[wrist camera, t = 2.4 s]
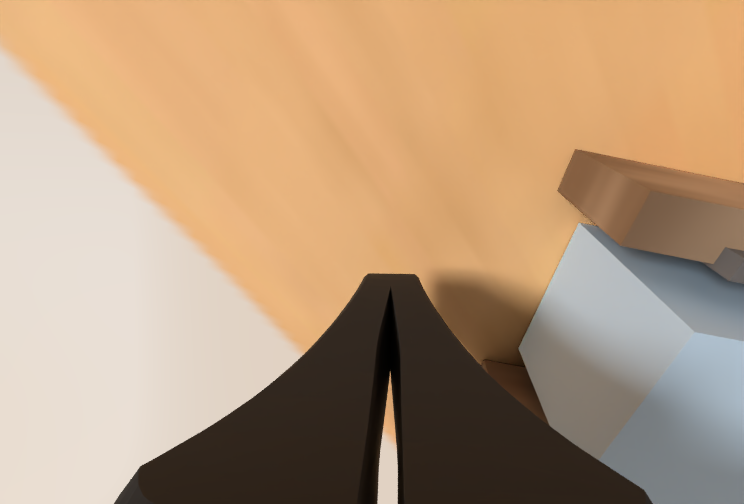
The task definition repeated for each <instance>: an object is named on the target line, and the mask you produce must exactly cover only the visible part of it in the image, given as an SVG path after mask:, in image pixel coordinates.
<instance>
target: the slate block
mask: <svg viewBox="0 0 744 504" xmlns="http://www.w3.org/2000/svg"><path fill="white" fill-rule="evenodd" d="M518 349H519V351H520V354H521V356H522V359H523V361H524V364H525V366H526V369H527V371H528V374H529V376H530V379H531V381H532V383H533V386H534V388H535V391H536V393H537V396H538V398H539V401H540V403H541V406H542V408H543V411H544V413H545V416H546V418H547V420H548V423H549V425H550V427H552V428H553V429H554V430H556V431H557V432H559V433H560V434H561V435H563V436H564V437H565V438H567V439H568V440H569V441H571V442H572V443H574V444H575V445H576V446H578V447H579V448H581V449H582V450H584V451H585V452H587V453H588V454H590V455H591V456H593V457H594V458H596V459H598V460H599V461H601V462H602V463H604V464H605V465H607V466H608V467H610V468H611V469H613V470H614V471H616V472H617V473H619V474H621V475H622V476H624V477H625V478H627V479H628V480H630V481H631V482H633V483H634V484H636V485H637V486H639V487H640V488H642V489H644V491H645V492H646V493H647V495H648V497H649V498H650V500H651V501H652V503H653V504H744V284H742V283H737V282H732V281H728V280H727V279H725V278H724V277H723V276H721V275H720V274H718V273H717V272H715V271H714V270H712V269H711V268H710V267H708V266H707V265H705V264H704V263H702V262H700V261H695V260H690V259H685V258H680V257H675V256H670V255H665V254H659V253H654V252H649V251H644V250H639V249H634V248H629V247H624V246H620V245H619V244H618V243H617V242H616V241H614V240H613V239H612V238H611V237H610V236H609V235H607V234H606V233H605V232H604V231H603V230H602V229H601V228H599V227H598V226H593V225H588V224H583V223H579V224H578V226H577V228H576V230H575V232H574V234H573V236H572V238H571V240H570V242H569V244H568V246H567V248H566V251H565V253H564V255H563V257H562V259H561V261H560V263H559V265H558V267H557V269H556V271H555V273H554V275H553V277H552V280H551V282H550V284H549V286H548V288H547V290H546V292H545V294H544V296H543V298H542V300H541V302H540V304H539V307H538V309H537V311H536V313H535V315H534V317H533V319H532V321H531V323H530V325H529V327H528V329H527V331H526V333H525V336H524V338H523V340H522V342H521V344H520V346H519V348H518Z"/></svg>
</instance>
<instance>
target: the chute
mask: <svg viewBox="0 0 744 504" xmlns="http://www.w3.org/2000/svg"><path fill="white" fill-rule="evenodd" d="M558 192H559V193H561V194H562V195H563V196H564V197H565V198H566V199H567V200H569V201H570V202H571V203H572V204H573V205H574V206H575V207H577V208H578V209H579V210H580V211H581V212H582V213H583V214H585V215H586V216H587V217H588V218H589V219H590V220H591V221H593V222H594V223H595V224H596V225H597V226H598V227H599V228H601V229H602V230H603V231H604V232H605V233H606V234H607V235H609V236H610V237H611V238H612V239H613V240H614V241H616V242H617V243H618V244H619V245H620V246H624V247H629V248H634V249H639V250H644V251H649V252H654V253H659V254H665V255H670V256H675V257H680V258H685V259H690V260H695V261H700V262H702V263H704V264H705V265H707V266H708V267H710V268H711V269H712V270H714V271H715V272H717V273H718V274H720V275H721V276H723V277H724V278H725V279H727V280H728V281H732V282H737V283H742V284H744V184H743V183H739V182H734V181H729V180H724V179H719V178H714V177H709V176H704V175H699V174H694V173H690V172H685V171H680V170H675V169H670V168H665V167H660V166H655V165H650V164H645V163H640V162H636V161H631V160H626V159H621V158H616V157H611V156H606V155H601V154H596V153H591V152H587V151H582V150H577V149H575V151H574V154H573V156H572V158H571V161H570V163H569V165H568V168H567V170H566V172H565V175H564V177H563V179H562V181H561V184H560V186H559V188H558ZM482 367H483V369H484V370H485V371H486V372H487V373H488V374H489V375H490V376H491V377H492V378H493V379H495V380H496V381H497V382H498V383H499V384H500V385H501V386H502V387H503V388H504V389H505V390H506V391H508V392H509V393H510V394H511V395H512V396H513V397H515V398H516V399H517V400H518V401H519V402H520V403H522V404H523V405H524V406H525V407H526V408H528V409H529V410H530V411H531V412H532V413H534V414H535V415H536V416H537V417H539V418H540V419H541V420H542V421H544V422H545V423H546V424H548V425H549V423H548V420H547V418H546V416H545V413H544V411H543V408H542V406H541V403H540V401H539V398H538V396H537V393H536V391H535V388H534V386H533V383H532V381H531V379H530V376H529V374H528V371H527V369H526V367H520V366H515V365H509V364H504V363H499V362H493V361H488V360H484V361H483V363H482ZM549 426H550V425H549Z"/></svg>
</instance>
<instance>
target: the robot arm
mask: <svg viewBox="0 0 744 504" xmlns="http://www.w3.org/2000/svg"><path fill="white" fill-rule="evenodd" d="M390 371H391V383H392V395H393V407H394V419H395V431H396V443H397V459H398V504H653V503H652V501H651V500H650V498H649V497H648V495H647V493H646V492H645V491H644V489H642V488H640V487H639V486H637V485H636V484H634V483H633V482H631V481H630V480H628V479H627V478H625V477H624V476H622V475H621V474H619V473H617V472H616V471H614V470H613V469H611V468H610V467H608V466H607V465H605V464H604V463H602V462H601V461H599V460H598V459H596V458H594V457H593V456H591V455H590V454H588V453H587V452H585V451H584V450H582V449H581V448H579V447H578V446H576V445H575V444H574V443H572V442H571V441H569V440H568V439H567V438H565V437H564V436H563V435H561V434H560V433H559V432H557V431H556V430H554V429H553V428H552V427H550V426H549V425H548V424H546V423H545V422H544V421H542V420H541V419H540V418H539V417H537V416H536V415H535V414H534V413H532V412H531V411H530V410H529V409H528V408H526V407H525V406H524V405H523V404H522V403H520V402H519V401H518V400H517V399H516V398H515V397H513V396H512V395H511V394H510V393H509V392H508V391H506V390H505V389H504V388H503V387H502V386H501V385H500V384H499V383H498V382H497V381H496V380H495V379H493V378H492V377H491V376H490V375H489V374H488V373H487V372H486V371H485V370H484V369H483V367H482V366H481V365H480V364H479V363H478V362H477V361H476V360H475V359H474V358H473V357H472V356H471V355H470V354H469V352H468V351H467V350H466V349H465V348H464V347H463V345H462V344H461V343H460V342H459V340H458V339H457V338H456V337H455V335H454V334H453V333H452V332H451V330H450V329H449V328H448V326H447V325H446V324H445V322H444V321H443V319H442V318H441V316H440V315H439V313H438V312H437V311H436V309H435V307H434V306H433V304H432V303H431V301H430V299H429V298H428V296H427V294H426V292H425V291H424V289H423V287H422V285H421V283H420V280H419V278H418V277H417V276H416V275H415V274H367V275H366V276H365V277H364V279H363V281H362V282H361V284H360V286H359V288H358V289H357V291H356V292H355V294H354V295H353V297H352V298H351V300H350V301H349V303H348V304H347V305H346V307H345V308H344V309H343V311H342V312H341V313H340V315H339V316H338V317H337V319H336V320H335V321H334V322H333V323H332V325H331V326H330V327H329V328H328V329H327V330H326V331H325V333H324V334H323V335H322V336H321V337H320V338H319V339H318V341H317V342H316V343H315V344H314V345H313V346H312V347H311V348H310V349H309V350H308V351H307V352H306V353H305V354H304V355H303V356H302V357H301V358H300V359H299V360H298V361H296V362H295V363H294V364H293V365H292V366H291V367H290V368H289V369H288V370H286V371H285V372H284V373H283V374H282V375H281V376H279V377H278V378H277V379H276V380H275V381H273V382H272V383H271V384H270V385H269V386H267V387H266V388H265V389H264V390H262V391H261V392H260V393H258V394H257V395H256V396H254V397H253V398H252V399H250V400H249V401H248V402H246V403H245V404H243V405H242V406H240V407H239V408H237V409H236V410H234V411H233V412H231V413H230V414H229V415H227V416H225V417H224V418H222V419H221V420H219V421H218V422H216V423H215V424H213V425H212V426H210V427H208V428H207V429H205V430H204V431H202V432H200V433H198V434H197V435H195V436H193V437H191V438H190V439H188V440H186V441H185V442H183V443H181V444H179V445H178V446H176V447H174V448H173V449H171V450H169V451H167V452H166V453H164V454H162V455H160V456H159V457H157V458H155V459H153V460H151V461H149V462H148V463H146V464H144V465H142V466H140V468H139V469H138V471H137V472H136V473H135V475H134V476H133V478H132V479H131V480H130V482H129V483H128V484H127V486H126V487H125V488H124V490H123V491H122V492H121V494H120V495H119V497H118V498H117V500H116V501H115V503H114V504H377V496H378V472H379V458H380V447H381V439H382V432H383V424H384V416H385V408H386V400H387V392H388V384H389V376H390Z"/></svg>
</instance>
